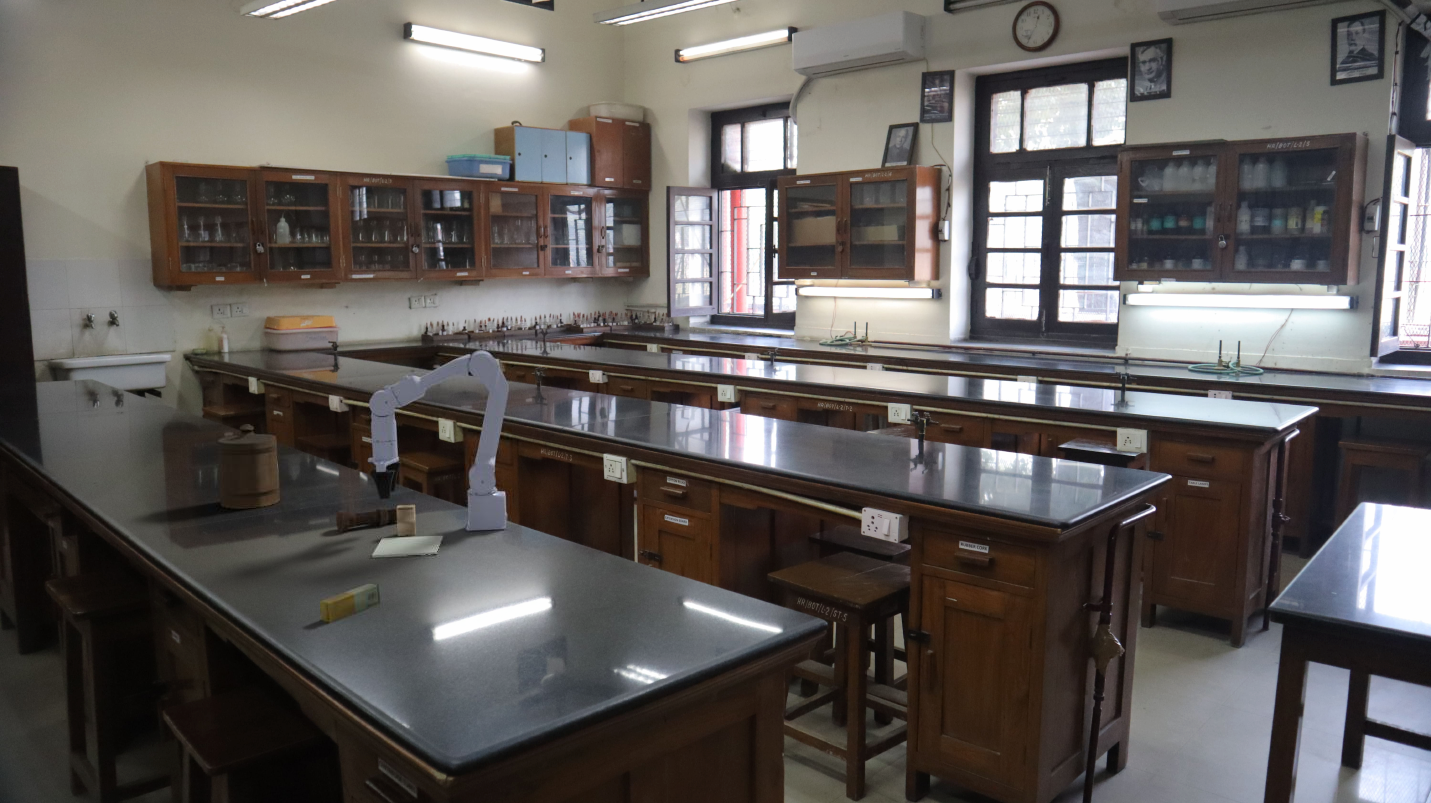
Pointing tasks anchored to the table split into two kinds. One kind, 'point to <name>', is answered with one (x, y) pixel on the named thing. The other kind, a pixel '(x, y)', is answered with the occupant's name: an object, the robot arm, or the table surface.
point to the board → (407, 546)
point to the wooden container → (248, 470)
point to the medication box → (349, 602)
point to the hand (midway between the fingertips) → (387, 494)
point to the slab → (406, 520)
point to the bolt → (365, 518)
